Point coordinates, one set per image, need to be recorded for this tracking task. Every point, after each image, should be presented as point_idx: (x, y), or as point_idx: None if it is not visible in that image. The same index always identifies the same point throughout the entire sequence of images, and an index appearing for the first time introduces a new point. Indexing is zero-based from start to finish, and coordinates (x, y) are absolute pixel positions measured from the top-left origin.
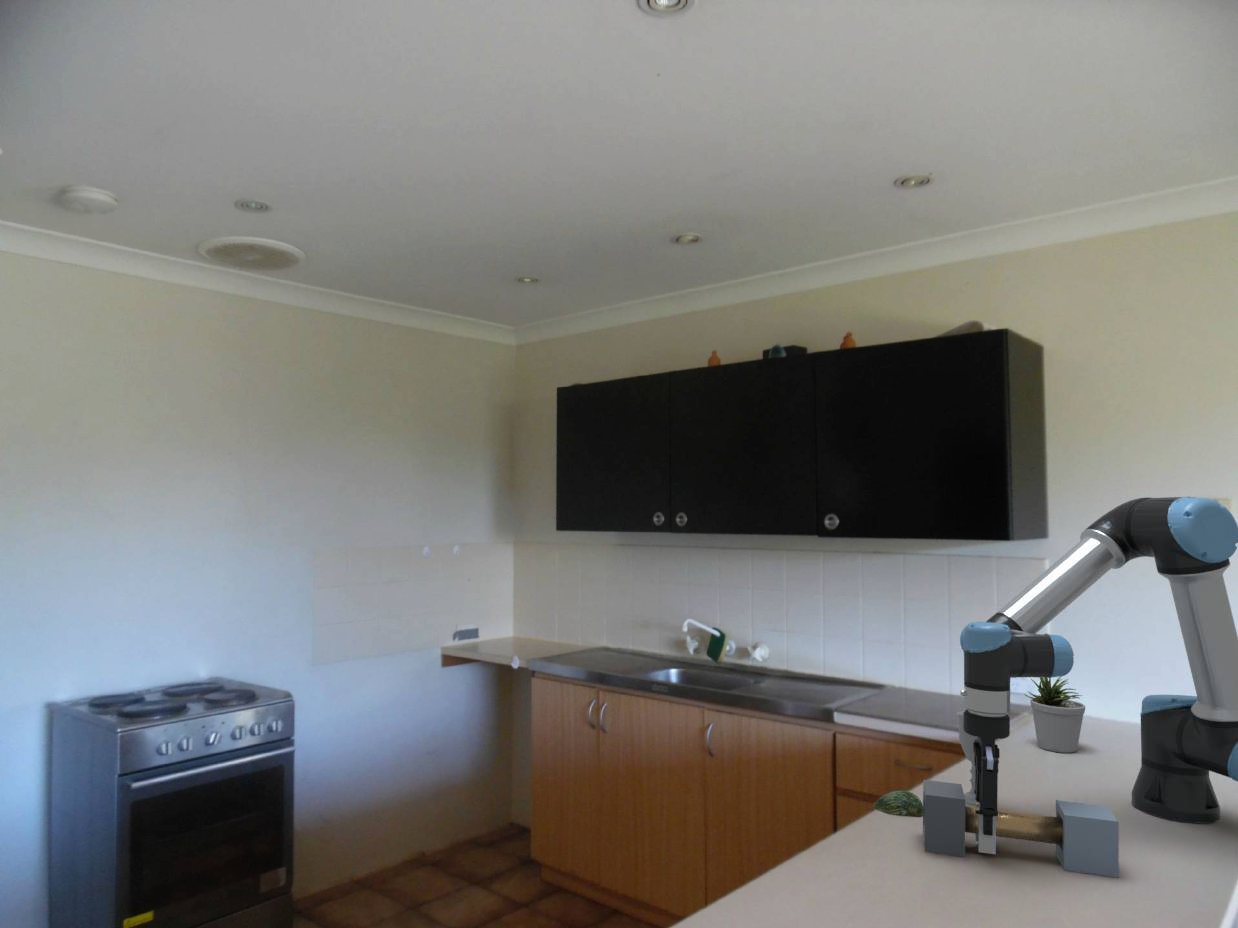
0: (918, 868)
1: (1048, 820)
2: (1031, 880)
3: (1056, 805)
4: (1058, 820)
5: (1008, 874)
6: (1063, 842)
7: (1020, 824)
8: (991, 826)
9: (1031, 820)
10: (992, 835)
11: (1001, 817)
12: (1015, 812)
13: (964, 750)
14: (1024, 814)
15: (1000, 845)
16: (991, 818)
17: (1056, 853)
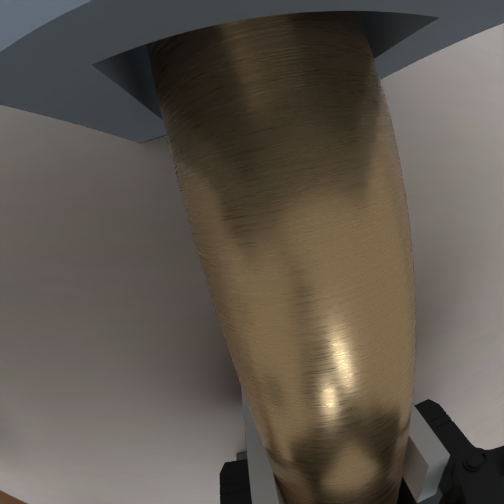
0: (478, 429)
1: (376, 143)
2: (487, 210)
3: (21, 77)
4: (344, 48)
5: (474, 278)
6: (380, 67)
7: (415, 340)
8: (451, 424)
9: (410, 290)
10: (429, 399)
11: (403, 441)
12: (354, 423)
13: None
14: (371, 365)
15: (212, 356)
16: (471, 447)
17: (161, 135)
